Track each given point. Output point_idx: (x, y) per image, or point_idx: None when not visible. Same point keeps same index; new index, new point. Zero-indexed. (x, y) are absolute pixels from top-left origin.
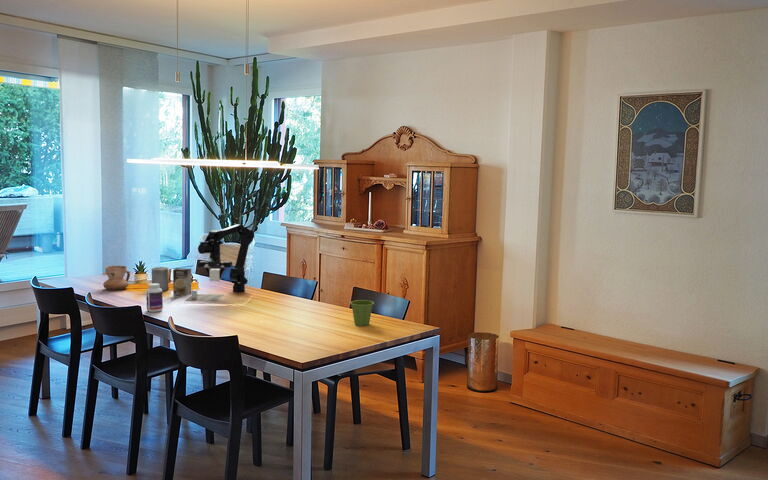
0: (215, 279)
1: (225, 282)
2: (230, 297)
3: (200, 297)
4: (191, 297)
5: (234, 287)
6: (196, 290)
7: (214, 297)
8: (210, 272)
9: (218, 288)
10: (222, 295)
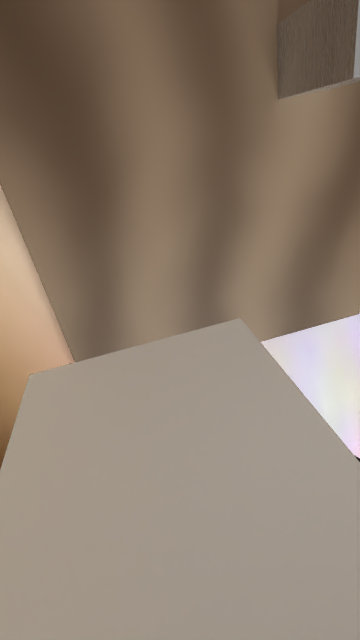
0: (111, 380)
1: None
2: (6, 366)
3: (261, 178)
4: (355, 149)
5: None
6: (358, 10)
7: (105, 224)
8: (357, 523)
9: None
10: (80, 349)
